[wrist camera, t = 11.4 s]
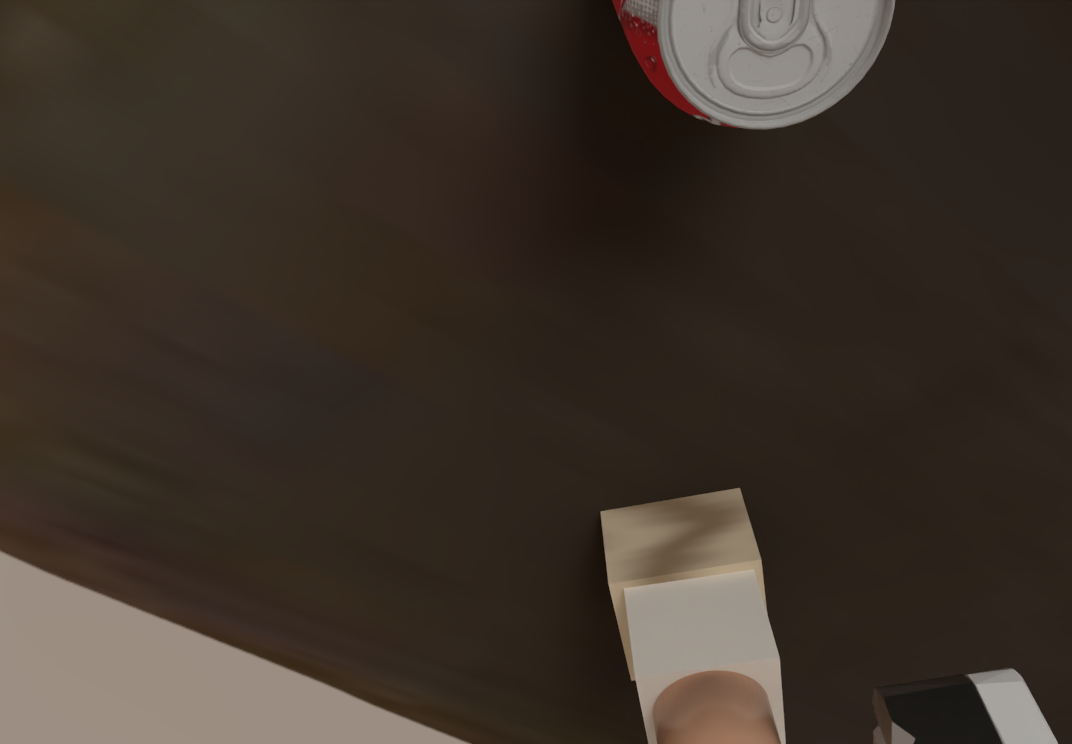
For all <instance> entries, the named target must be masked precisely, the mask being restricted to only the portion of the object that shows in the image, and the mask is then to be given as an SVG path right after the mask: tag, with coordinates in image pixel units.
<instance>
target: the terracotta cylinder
mask: <svg viewBox="0 0 1072 744" xmlns="http://www.w3.org/2000/svg"><path fill="white" fill-rule="evenodd" d="M653 721H654V728H655V735H656V741H657V744H781V742H780V738H779V734H778V731H777V727H776V723H775V720H774V716H773V713H772V709H771V705H770V702H769V698H768V695H767V693H766V691H765V690H764V688H763V687H762V686H761V685H760V684H759V683H758V682H756V681H755V680H753V679H752V678H750V677H748V676H746V675H743V674H740V673H736V672H731V671H721V670H715V671H704V672H699V673H694V674H691V675H688V676H686V677H683V678H681V679H679V680H677V681H675V682H674V683H672V684H671V685H669V686H668V687H667V688H666V689H665V690H664V691H663V692H662V693H661V694H660V695H659V697H658V698H657V700H656V702H655V705H654V708H653Z"/></svg>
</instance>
